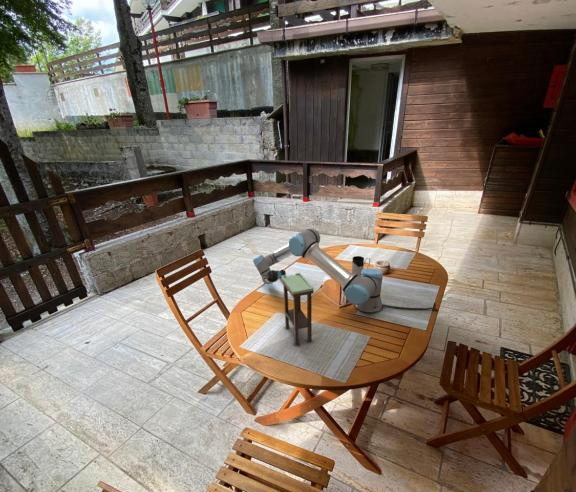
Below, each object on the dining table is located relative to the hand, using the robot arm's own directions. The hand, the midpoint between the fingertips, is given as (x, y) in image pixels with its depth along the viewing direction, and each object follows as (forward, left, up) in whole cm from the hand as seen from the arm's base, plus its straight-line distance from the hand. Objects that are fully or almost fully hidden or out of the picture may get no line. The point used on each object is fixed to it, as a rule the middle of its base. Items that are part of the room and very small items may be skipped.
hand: (280, 272), depth 175 cm
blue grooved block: (-3, +3, -3) cm, 5 cm away
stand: (-20, +20, -23) cm, 37 cm away
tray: (-20, +20, +6) cm, 29 cm away
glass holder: (-31, -57, -23) cm, 69 cm away
